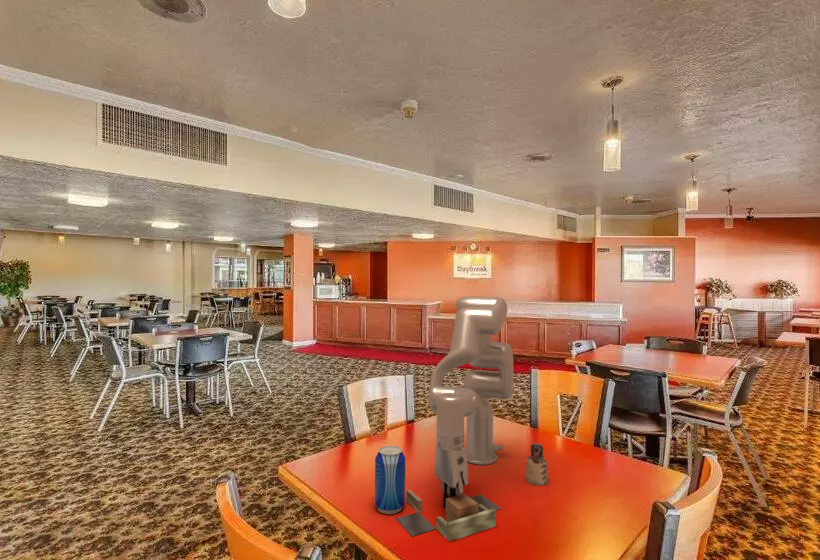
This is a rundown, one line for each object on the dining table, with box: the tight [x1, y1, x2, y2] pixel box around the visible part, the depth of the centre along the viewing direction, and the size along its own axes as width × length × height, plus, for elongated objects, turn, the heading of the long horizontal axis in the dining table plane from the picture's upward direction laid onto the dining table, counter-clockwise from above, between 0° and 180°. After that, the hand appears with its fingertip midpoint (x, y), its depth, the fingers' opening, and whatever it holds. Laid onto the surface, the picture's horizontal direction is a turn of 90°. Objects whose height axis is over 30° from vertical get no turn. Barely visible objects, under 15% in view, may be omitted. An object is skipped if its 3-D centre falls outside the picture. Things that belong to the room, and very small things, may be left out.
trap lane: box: [395, 489, 502, 542], centre depth 115 cm, size 28×22×4 cm
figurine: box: [524, 442, 550, 487], centre depth 135 cm, size 7×7×12 cm
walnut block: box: [445, 493, 478, 522], centre depth 110 cm, size 6×6×6 cm
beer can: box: [374, 445, 406, 515], centre depth 118 cm, size 8×8×16 cm
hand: (449, 507), depth 115 cm, fingers closed
